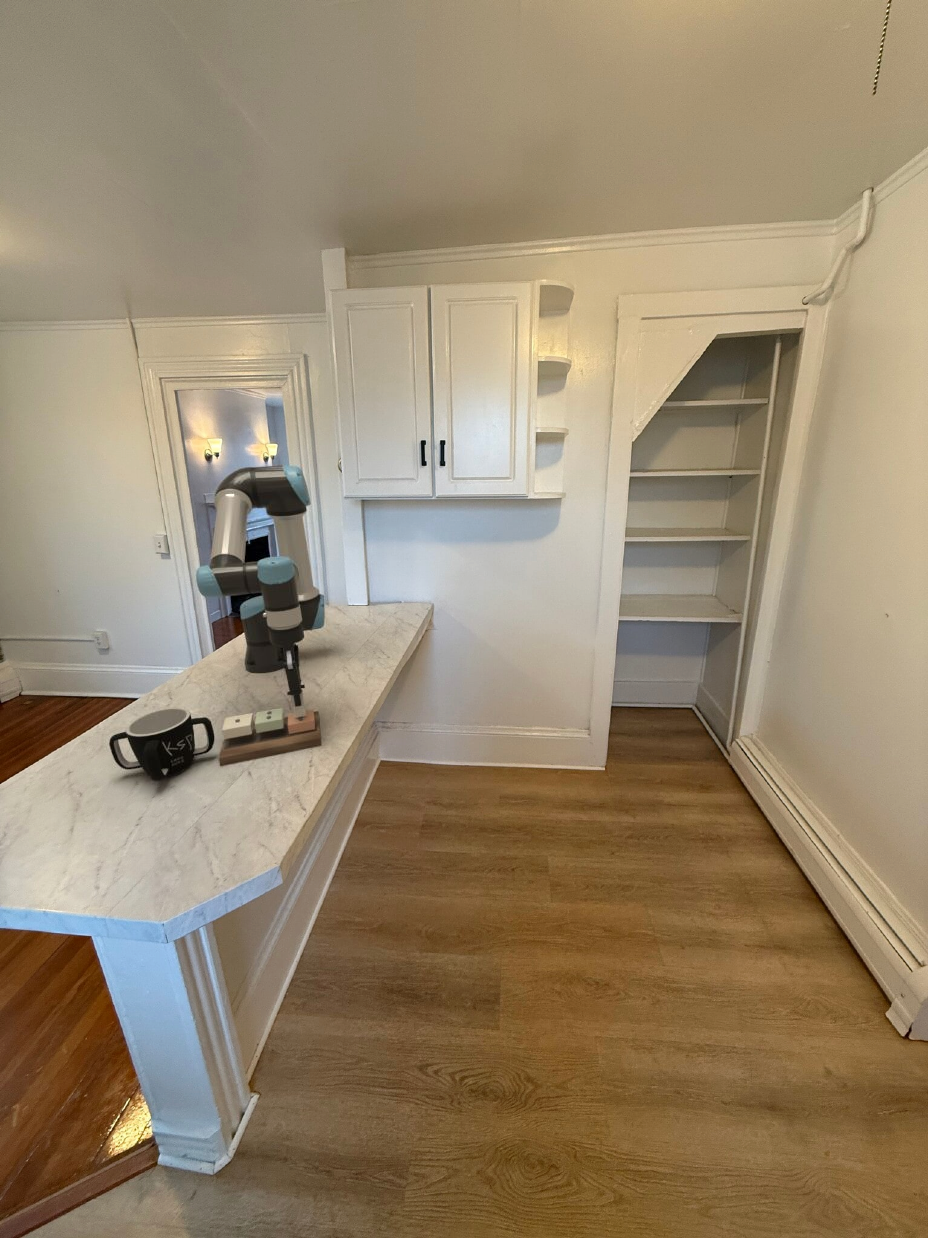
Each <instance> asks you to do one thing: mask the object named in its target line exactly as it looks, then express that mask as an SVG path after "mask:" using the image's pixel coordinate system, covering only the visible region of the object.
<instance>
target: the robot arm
mask: <svg viewBox="0 0 928 1238" xmlns="http://www.w3.org/2000/svg"><path fill="white" fill-rule="evenodd" d="M214 493H215V494H214V500H213V503H214V507H215V509H216V515H215V517H216V518H215V523H214V532H213V538H212V539H213V540H212V546H211V552H210V558H209V559H210V560H209V564H206V565H203V566H199V567H198V568H196V569H197V570H196V571H195V572H196V574H195V579H196V580H195V581H196V584H197V585H196V586H197V589H198V591H199V593H200V595H202V597H204V598H224V597H231V596H241V595H248V594H260V593H261V595H259V596H255V597H252V598H250V599H247V600H245V601H244V602H243V603H242V604H241V605H240V607H239V611H240V619H241V624H242V628H243V633H244V638H245V641H246V642H245V644H246V650H245V657H244V668H245V670H246V671H247V672H250V673H255V674H257V673H261V674H262V673H269V672H273V671H278V670H281V669H283V668H284V671H285V677H286V680H287V685H288V691H287V693H286V694H287V696H290V699H291V705H292V709H293V713H294V717H295V718H297V717H302V716H306V704H305V698H304V693H303V692H304V691H303V689H305V687H306V686H305V684H302V679H301V672H300V653H299V652H300V649H299V644H298V643H300V642H302V641H303V640H304V638H305V632H307V631H313V630H314V631H315V630H319V629H323V627H324V625H325V621H326V620H325V619H326V618H325V617H326V616H325V613H326V611H325V595H324V594H322V593H320V590H319V589H318V588H317V587H316V586H314V582H313V581H314V580H313V574H312V568H311V561H310V557H309V556H310V555H309V550H308V543H307V542H308V541H307V536H306V531H305V523H304V516H305V514H306V513H307V512H308V509H307V507H308V506H310V505H311V498H310V494H309V489H308V485H307V481H306V479H305V475H304V473H303V470H302V469H301V468H300V467H299V466H297V465H283V464H282V465H272V466H271V465H269V466H268V465H267V466H255V467H252V466H250V467H249V466H247V467H241V468H239V469H236V470H234V471H233V472H231V473H230V474H228V476H226V477H225V478H224V479H223V480H222V481H221V482H220V483H219V485H218V487H217V489H216V491H215V492H214ZM253 509H265V511H266V515H267V516H268V517H269V518H271V519H272V520H273V526H274V530H275V536H276V541H277V547H278V552H279V553H278V554H279V556H271V557H270V556H269V557H264V558H262V559H260V560H258V561H249V562H245V556H246V545H247V543H246V542H247V530H248V529H247V528H248V515H249V514H251V512H252V510H253ZM296 643H297V644H298V645H297V644H296Z"/></svg>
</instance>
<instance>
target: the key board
mask: <svg viewBox="0 0 928 1238" xmlns="http://www.w3.org/2000/svg"><path fill="white" fill-rule="evenodd" d="M314 717H315V729H314V730H308V731H303V732H298V733H293V734H289V730H288V716H284V728H281V729H276V730H271V731H265V732H260V733H256V728H255V722H254V726H253V731H252V734H250V735H244V736H239V737H234V738H229V739H224V738H223V742H222V744H221V745H222V746H221V748H220V753H219V757H218V761H219V766H220V767H222V766H227V765H233V764H237V763H242V762H246V761H252V760H256V759H262V758H267V757H271V756H276V755H281V754H282V755H283V754H286V753H290V752H295V751H301V750H305V749H311V748H314V747H320V746H322V736H321V735H322V734H321V724H320V714H319V711H318V710H317V711H316V710H315V711H314Z"/></svg>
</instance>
